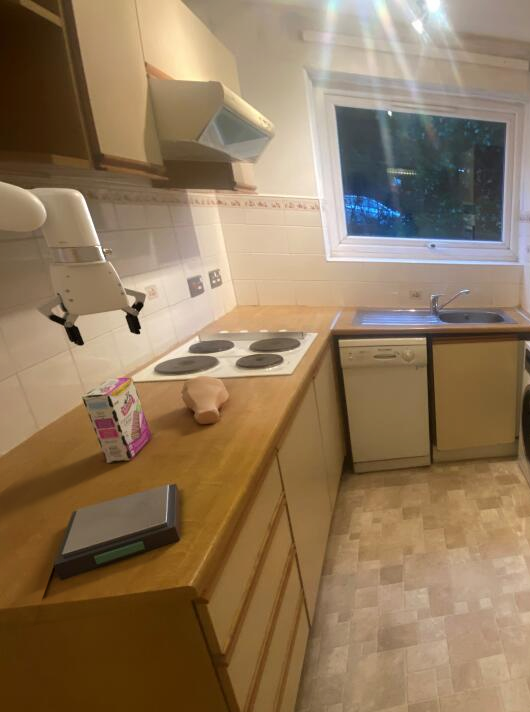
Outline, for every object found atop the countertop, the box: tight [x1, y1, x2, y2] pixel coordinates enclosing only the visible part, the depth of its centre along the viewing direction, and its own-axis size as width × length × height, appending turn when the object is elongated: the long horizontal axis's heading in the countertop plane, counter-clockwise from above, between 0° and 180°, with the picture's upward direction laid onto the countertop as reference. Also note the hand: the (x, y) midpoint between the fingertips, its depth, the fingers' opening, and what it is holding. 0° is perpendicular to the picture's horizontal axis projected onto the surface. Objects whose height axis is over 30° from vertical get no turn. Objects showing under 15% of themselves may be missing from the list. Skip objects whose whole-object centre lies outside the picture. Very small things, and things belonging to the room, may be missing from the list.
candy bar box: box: [81, 376, 153, 464], centre depth 99 cm, size 11×5×16 cm, turn 18°
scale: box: [53, 483, 181, 580], centre depth 76 cm, size 15×16×3 cm
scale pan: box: [62, 484, 170, 558], centre depth 75 cm, size 13×13×1 cm
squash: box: [181, 375, 230, 425], centre depth 120 cm, size 11×20×9 cm, turn 37°
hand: (108, 338), depth 93 cm, fingers open, 9 cm apart
